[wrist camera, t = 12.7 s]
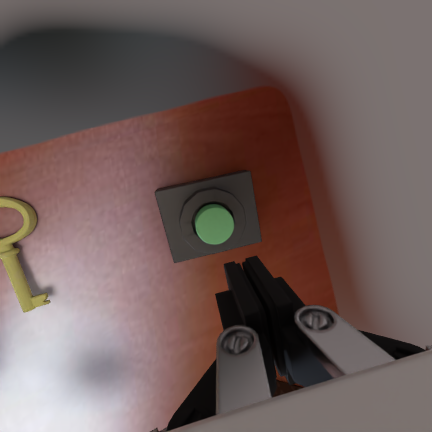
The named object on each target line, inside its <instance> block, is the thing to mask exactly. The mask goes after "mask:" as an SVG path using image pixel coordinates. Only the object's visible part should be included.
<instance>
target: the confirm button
mask: <svg viewBox="0 0 432 432" xmlns="http://www.w3.org/2000/svg"><path fill="white" fill-rule="evenodd" d="M195 226H196V231H197V234H198V236H199V237H200V238H201V239H202V240H203V241H204V242H206V243H209V244H220V243H222V242H224V241H226V240H227V239H228V238H229V237H230V236H231V234H232V232H233V230H234V221H233V218H232V216H231V214H230V213H229V212H228V211H227V210H226V209H225V208H224V207H223V206H221V205H217V204H209V205H206V206H204V207H203V208H201V209H200V210H199V212H198V213H197V215H196V218H195Z"/></svg>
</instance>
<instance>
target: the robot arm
mask: <svg viewBox="0 0 432 432" xmlns="http://www.w3.org/2000/svg"><path fill="white" fill-rule="evenodd" d="M242 265H243V269H242V267H241V265H240V263H237V264H236V263H235V262H234V261H233V262H229V263H225V264H224V269H225V274H226V279H227V283H228V288H229V290H228V291H224V292H220V293H217V294H215V295H216V300H217V304H218V308H219V313H220V317H221V321H222V325H223V330H224V331H223V332H222V333H221V334H220V335H219V337H218V339H217V356H216V360H215V361H214V362H213V364H212V365H211V366H210V368H209V369H208V370H207V371H206V373H205V374H204V375H203V377H202V378H201V379H200V381H199V382H198V383H197V385H196V386H195V387H194V389H193V390H192V391H191V392H190V394H189V395H188V396H187V398H186V399H185V400H184V402H183V403H182V404H181V406H180V407H179V408H178V410H177V411H176V412H175V414H174V415H173V417H172V418H171V420H170V422H169V424H168V427H166V428H165V429H163V430H161V431H158V429H157V428H156V429H154V430H152V431H150V432H432V346H426V350H424V349H422V348H420V347H418V346H415V345H412V344H410V343H406V342H402V341H398V340H394V339H391V338H387V337H383V336H379V335H375V334H372V333H368V332H364V331H360V330H357V329H355V328H354V327H353V326H352V325H350V324H349V323H348V322H346V321H345V320H344V319H342V318H341V317H340V316H339V315H337V314H336V313H335V312H333V311H332V310H330V309H329V308H326V307H323V306H319V305H307V306H305V304H304V303H303V302H302V301H301V300H300V298H299V297H298V296H297V295H296V294H295V293H294V291H293V290H292V289H291V288H290V287H289V285H288V284H287V283H286V282H285V281H284V279H283V278H282V277H278V278H273V276H272V275H271V274H270V272H269V271H268V270H267V269H266V267H265V266H264V265H263V263H262V262H261V261H260V259H259V258H258V257H257V256H253V257H249V258H246V261H245V262H242ZM243 270H244V271H243ZM275 366H276V368H277V371H278V373H279V375H280V376H285V377H286V379H287V381H288V383H289V385H292V384H295V383H297V384H300V385H302V386H304V388H302V389H299V390H296V391H292V392H289V393H286V394H283V395H279V396H276V397H273V395H274V393H275V391H276V389H277V384H276V378H277V376H276V370H275ZM272 397H273V398H272Z"/></svg>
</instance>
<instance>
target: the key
mask: <svg viewBox="0 0 432 432" xmlns="http://www.w3.org/2000/svg"><path fill="white" fill-rule="evenodd" d="M0 207H9V208H14V209H17V210H18V211H20V212H21V214H22V215H23V219H24V224H23V227H22V228H21V229H20V230H19V231H18V232H17V233H16V234H14V235H11V236H9V237H6V238H2V239H0V259H2V261H3V264H4V266H5V269H6V271H7V273H8V276H9V278H10V281H11V283H12V286H13V288H14V290H15V293H16V295H17V298H18V300H19V303H20V305H21V308H22V310H23V312H28V311H31V310H33V309H35V308H36V307H39V306H42V305H46V304H49V303H50V300H47V301H46V299H47V297H48V294H47V293H44V294H40V295H37V296H33V295H32V293H31V290H30V287H29V285H28V282H27V280H26V277H25V275H24V272H23V270H22V267H21V265H20V262H19V260H18V257H17V255H16V254H17V253H19V252H20V250H19V249H18V248H14V247H13V245H12V243H15V242H17V241H19V240H21V239H23V238H24V237H26V236H27V235H29V234H30V233H31V232H32V231H33V230H34V228H35V226H36V223H37V217H36V213H35V211H34V209H33V208H32V207H31V206H30V205H28V204H27V203H25V202H22V201H20V200H16V199H13V198H7V197H0Z"/></svg>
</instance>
